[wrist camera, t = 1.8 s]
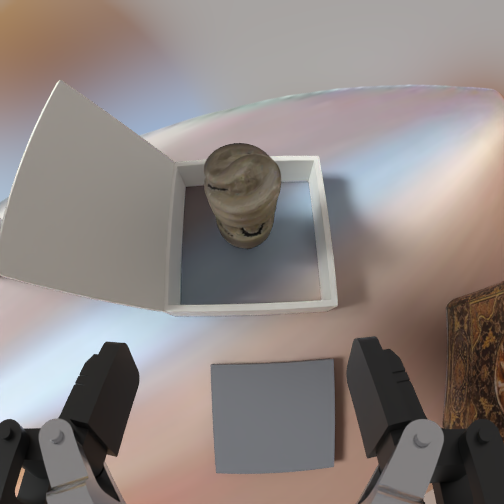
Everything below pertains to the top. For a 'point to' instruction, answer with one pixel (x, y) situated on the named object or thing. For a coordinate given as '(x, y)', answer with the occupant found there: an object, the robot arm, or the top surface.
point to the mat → (273, 416)
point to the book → (475, 359)
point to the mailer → (122, 215)
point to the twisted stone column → (242, 193)
